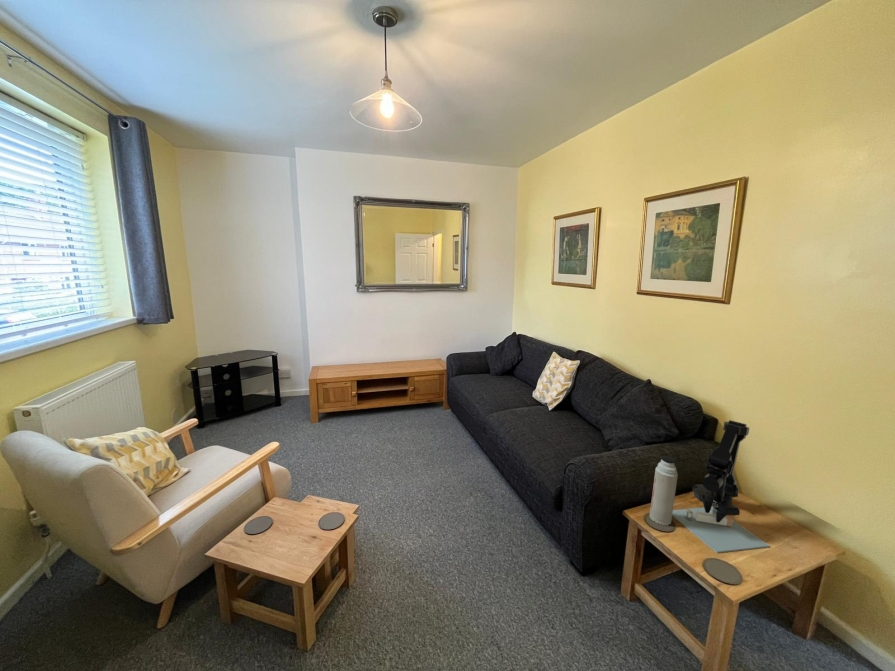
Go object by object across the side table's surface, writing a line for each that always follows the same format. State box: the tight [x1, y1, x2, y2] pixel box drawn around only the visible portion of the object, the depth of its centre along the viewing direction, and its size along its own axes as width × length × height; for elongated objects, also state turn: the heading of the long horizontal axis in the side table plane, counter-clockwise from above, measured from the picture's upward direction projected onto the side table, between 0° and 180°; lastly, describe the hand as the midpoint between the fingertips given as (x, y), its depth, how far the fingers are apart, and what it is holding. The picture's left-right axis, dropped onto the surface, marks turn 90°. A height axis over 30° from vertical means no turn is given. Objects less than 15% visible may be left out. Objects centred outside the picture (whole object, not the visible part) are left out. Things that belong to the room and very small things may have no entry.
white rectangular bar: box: [694, 511, 734, 527], centre depth 147 cm, size 13×2×3 cm, turn 77°
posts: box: [685, 502, 718, 521], centre depth 152 cm, size 18×4×4 cm, turn 109°
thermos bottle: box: [649, 455, 679, 526], centre depth 147 cm, size 8×8×28 cm
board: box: [672, 507, 771, 554], centre depth 145 cm, size 24×24×1 cm
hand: (712, 517), depth 148 cm, fingers open, 5 cm apart
